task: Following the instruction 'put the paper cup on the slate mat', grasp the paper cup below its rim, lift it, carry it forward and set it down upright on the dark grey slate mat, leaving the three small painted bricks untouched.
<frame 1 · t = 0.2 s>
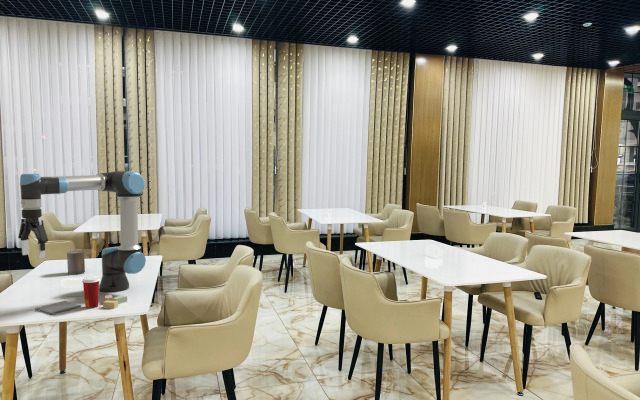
hand: (33, 256, 209), 28 cm above the table, fingers open, 13 cm apart
rose brick: (108, 302, 234), on the table
pillar candle: (76, 273, 295), on the table
slate mat: (58, 308, 224), on the table
ochre brick: (110, 307, 226), on the table
paper cup: (91, 307, 227), on the table
sage brick: (120, 303, 233), on the table
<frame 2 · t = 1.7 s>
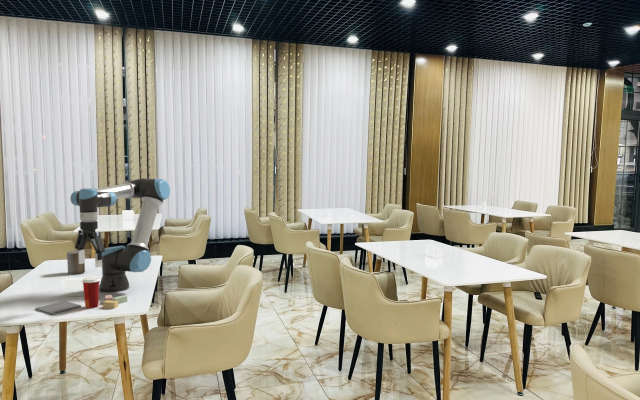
hand: (90, 265, 225), 20 cm above the table, fingers open, 13 cm apart
nothing on the table moved.
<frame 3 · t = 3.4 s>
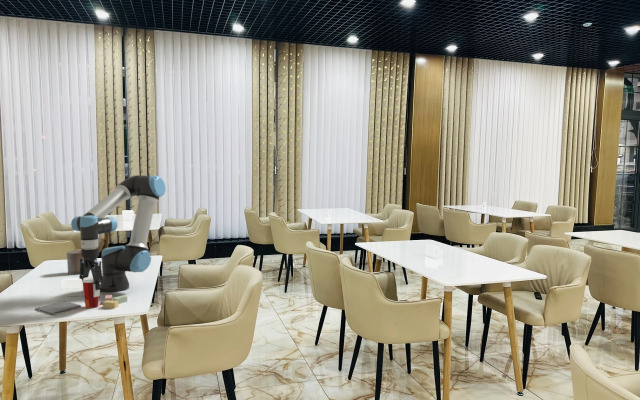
hand: (91, 295, 226), 6 cm above the table, fingers closed on paper cup, 8 cm apart
paper cup: (91, 307, 227), on the table, touching gripper
everything else where it was.
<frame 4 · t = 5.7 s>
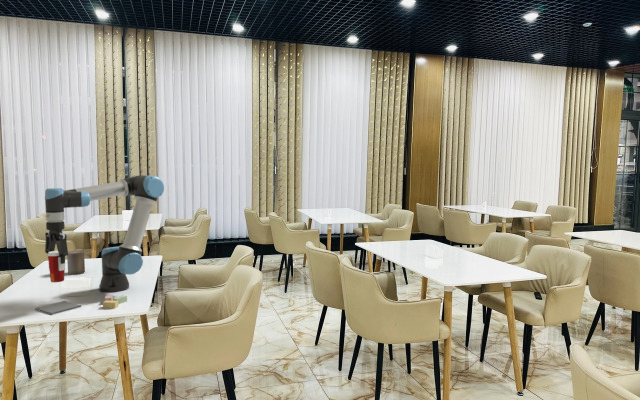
hand: (57, 269, 222), 19 cm above the table, fingers closed on paper cup, 8 cm apart
paper cup: (57, 281, 223), point 13 cm above the table, touching gripper
everything else where it was.
when the fingers open (7 cm above the table, at t = 7.9 s): paper cup stays where it is, resting on slate mat.
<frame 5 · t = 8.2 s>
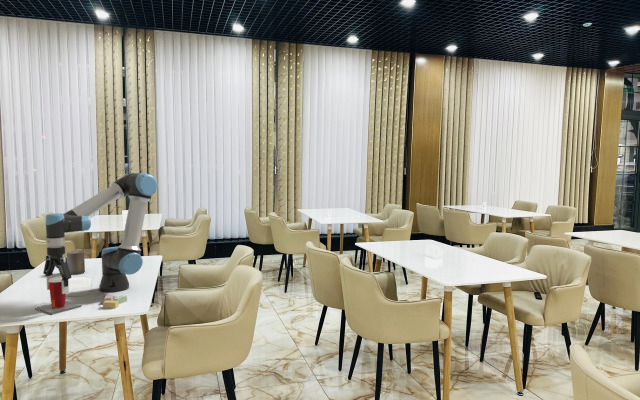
hand: (57, 291, 223), 8 cm above the table, fingers open, 12 cm apart
paper cup: (58, 306, 224), point 1 cm above the table, touching slate mat
everything else where it was.
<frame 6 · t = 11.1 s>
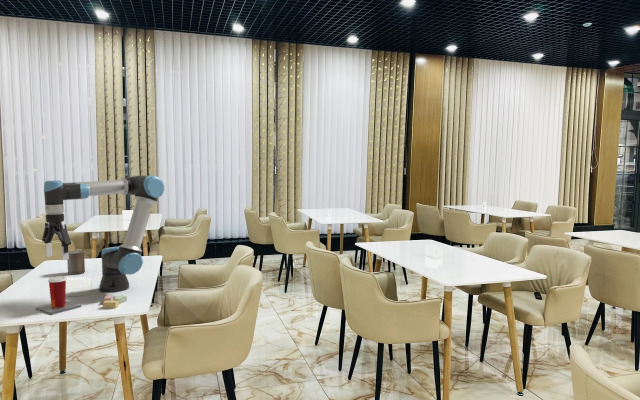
hand: (57, 258, 222), 24 cm above the table, fingers open, 13 cm apart
nothing on the table moved.
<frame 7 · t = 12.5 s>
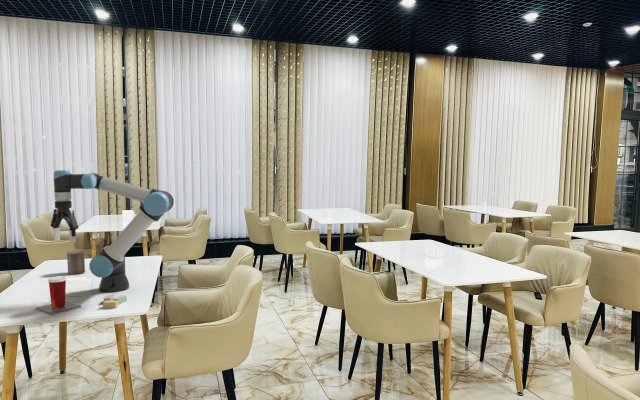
hand: (64, 241, 242), 29 cm above the table, fingers open, 13 cm apart
nothing on the table moved.
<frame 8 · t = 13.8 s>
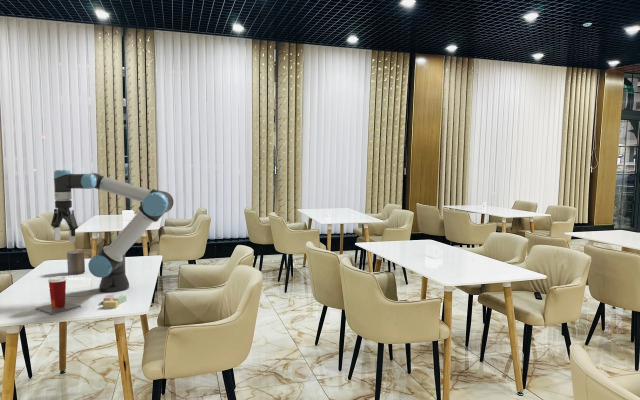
hand: (64, 241, 242), 29 cm above the table, fingers open, 13 cm apart
nothing on the table moved.
at the end: paper cup inside the target area on the slate mat (0.1 cm from its centre), point 0.6 cm above the slate mat's base; paper cup tilted 0°; rose brick moved 0.2 cm from its start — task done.
